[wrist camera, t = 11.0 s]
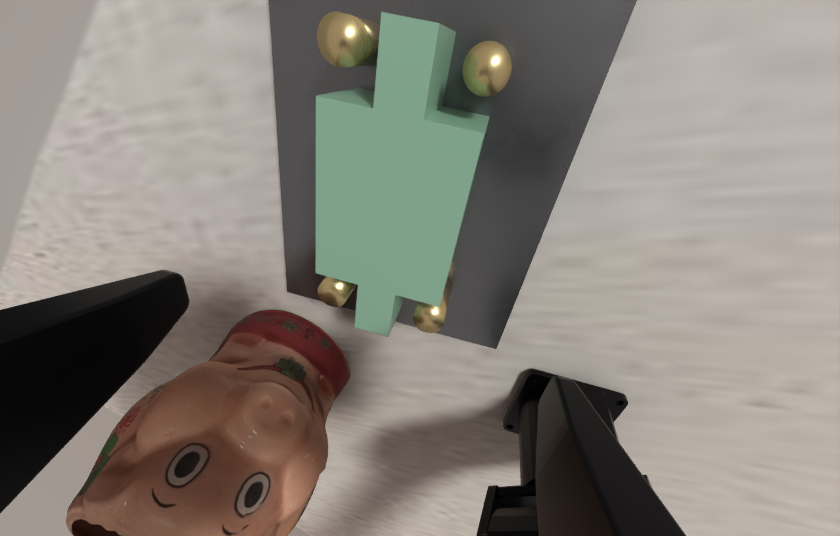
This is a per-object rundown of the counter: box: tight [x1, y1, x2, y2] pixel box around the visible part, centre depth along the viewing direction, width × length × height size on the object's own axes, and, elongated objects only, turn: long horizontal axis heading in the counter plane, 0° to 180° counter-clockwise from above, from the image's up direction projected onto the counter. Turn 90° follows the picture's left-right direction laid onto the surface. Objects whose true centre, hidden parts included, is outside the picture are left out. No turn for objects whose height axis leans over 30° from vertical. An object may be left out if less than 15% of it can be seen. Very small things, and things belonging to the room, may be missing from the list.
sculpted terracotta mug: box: [66, 310, 350, 536], centre depth 23 cm, size 20×12×14 cm, turn 148°
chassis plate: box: [269, 0, 637, 349], centre depth 16 cm, size 14×18×4 cm
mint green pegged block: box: [316, 12, 490, 337], centre depth 15 cm, size 6×13×4 cm, turn 170°
